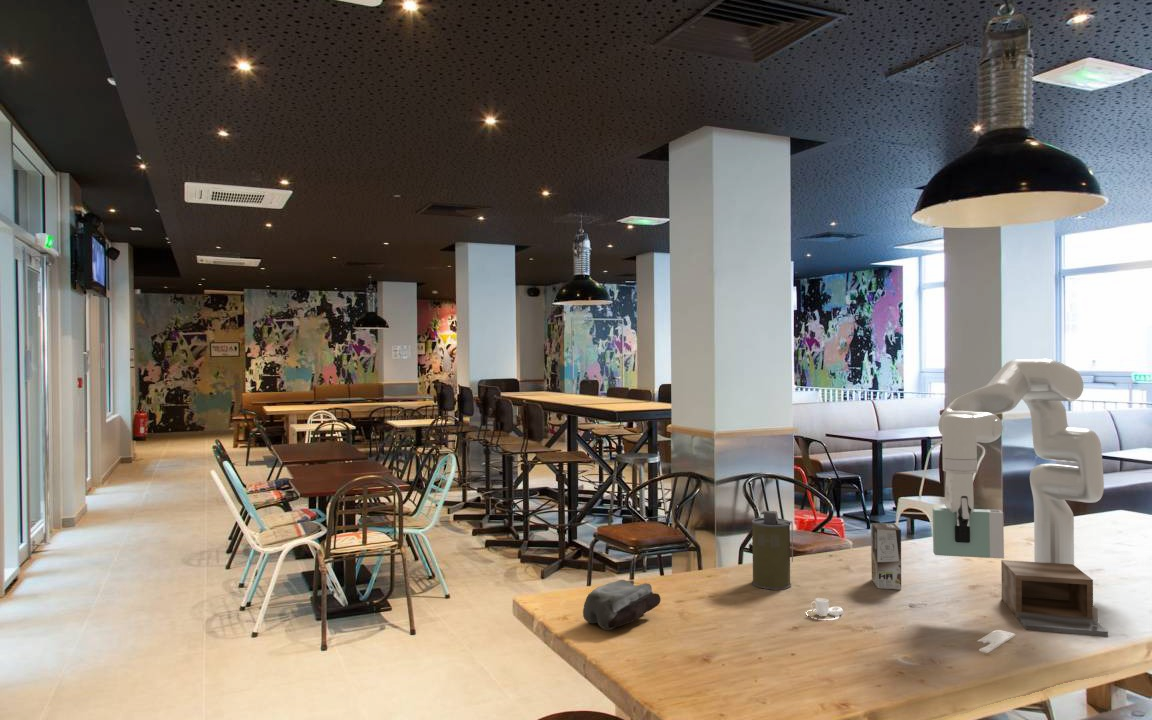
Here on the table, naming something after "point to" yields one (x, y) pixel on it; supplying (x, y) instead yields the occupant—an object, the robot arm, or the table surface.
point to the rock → (619, 603)
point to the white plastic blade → (995, 639)
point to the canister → (771, 551)
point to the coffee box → (886, 555)
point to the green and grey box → (982, 534)
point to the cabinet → (1050, 597)
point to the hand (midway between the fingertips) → (961, 539)
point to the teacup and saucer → (825, 609)
